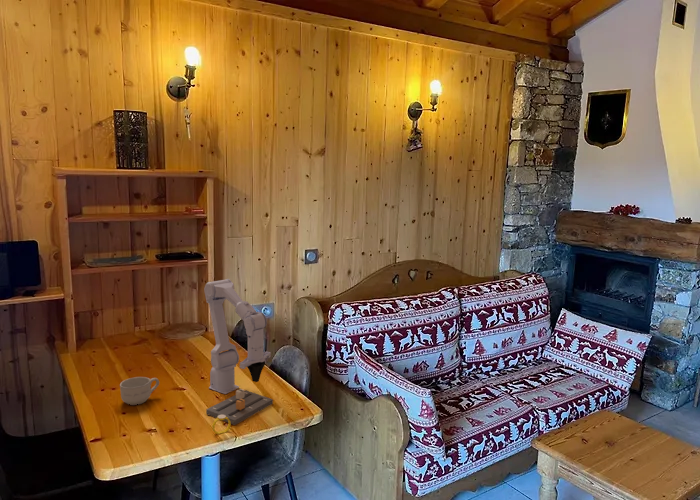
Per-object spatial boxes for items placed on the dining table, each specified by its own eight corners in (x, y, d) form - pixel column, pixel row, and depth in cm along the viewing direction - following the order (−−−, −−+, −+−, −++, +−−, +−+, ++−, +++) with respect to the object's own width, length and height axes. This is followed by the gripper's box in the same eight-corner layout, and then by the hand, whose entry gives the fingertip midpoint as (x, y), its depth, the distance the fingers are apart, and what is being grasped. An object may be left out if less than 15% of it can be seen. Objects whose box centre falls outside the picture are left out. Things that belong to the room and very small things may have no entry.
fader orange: (235, 408, 188) (235, 400, 187) (240, 406, 190) (240, 397, 189) (240, 410, 186) (240, 401, 186) (244, 407, 188) (244, 399, 188)
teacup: (121, 410, 189) (120, 389, 188) (119, 398, 198) (118, 378, 197) (162, 403, 195) (161, 383, 194) (158, 391, 205) (157, 372, 203)
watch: (228, 429, 178) (229, 413, 177) (231, 433, 176) (232, 416, 175) (211, 432, 175) (212, 416, 174) (213, 436, 173) (214, 419, 172)
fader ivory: (235, 398, 196) (235, 390, 195) (240, 396, 198) (240, 388, 197) (239, 399, 195) (239, 391, 194) (244, 397, 197) (244, 389, 196)
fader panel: (206, 414, 188) (206, 408, 188) (245, 394, 205) (245, 389, 204) (234, 425, 180) (234, 419, 180) (272, 403, 197) (272, 398, 197)
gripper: (249, 354, 183) (250, 390, 185) (276, 342, 195) (276, 377, 197) (235, 349, 187) (235, 385, 189) (262, 339, 199) (262, 372, 201)
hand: (255, 381), depth 193 cm, fingers closed
